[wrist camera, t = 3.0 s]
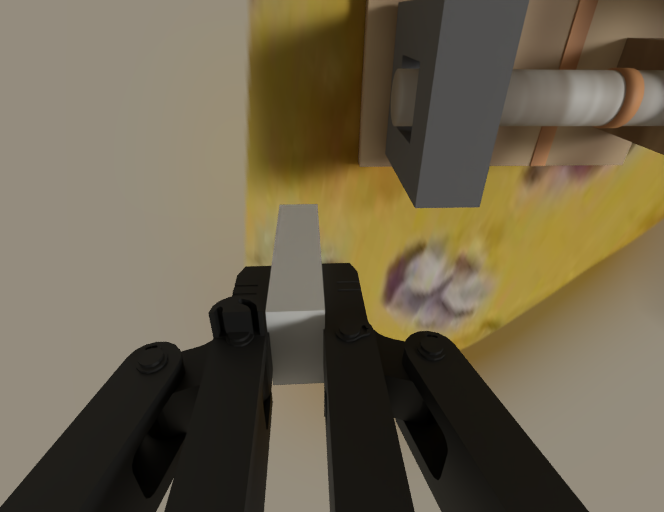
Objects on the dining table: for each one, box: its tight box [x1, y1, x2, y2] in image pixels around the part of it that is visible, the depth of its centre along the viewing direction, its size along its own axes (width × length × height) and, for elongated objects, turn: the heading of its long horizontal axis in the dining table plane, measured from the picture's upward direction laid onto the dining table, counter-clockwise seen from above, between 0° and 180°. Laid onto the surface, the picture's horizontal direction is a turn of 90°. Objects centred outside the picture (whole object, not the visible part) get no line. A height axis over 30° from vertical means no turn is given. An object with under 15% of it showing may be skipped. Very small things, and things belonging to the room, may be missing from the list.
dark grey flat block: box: [385, 0, 529, 208], centre depth 19 cm, size 3×8×8 cm, turn 179°
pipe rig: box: [358, 0, 664, 167], centre depth 20 cm, size 18×10×8 cm, turn 89°
